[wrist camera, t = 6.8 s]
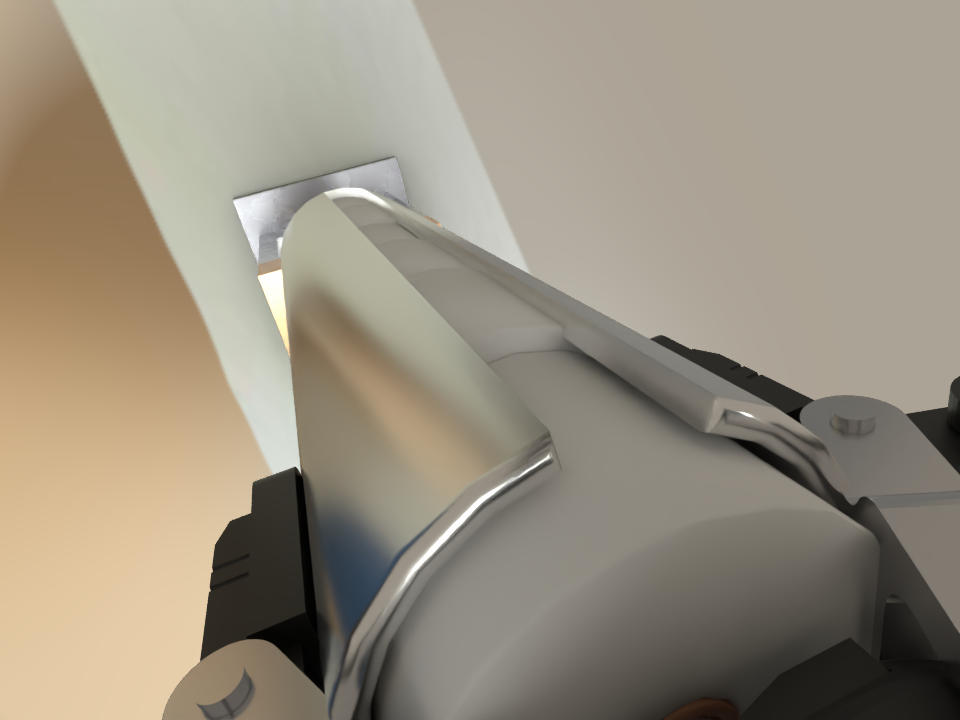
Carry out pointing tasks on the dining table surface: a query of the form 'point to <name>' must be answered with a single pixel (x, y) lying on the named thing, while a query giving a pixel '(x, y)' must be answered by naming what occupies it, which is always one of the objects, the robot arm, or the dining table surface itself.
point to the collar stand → (276, 207)
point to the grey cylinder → (541, 495)
